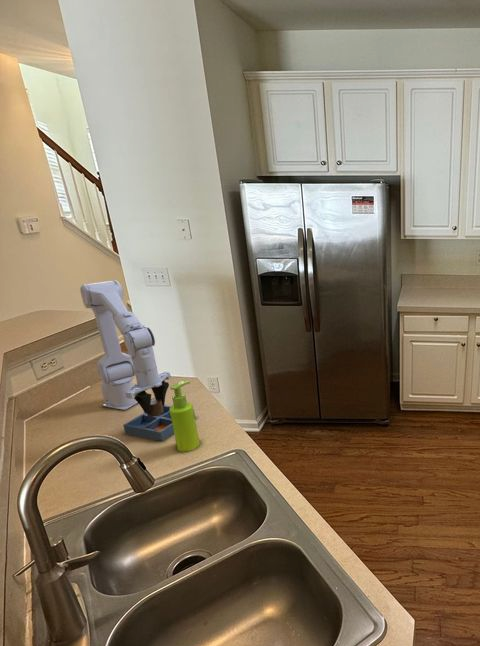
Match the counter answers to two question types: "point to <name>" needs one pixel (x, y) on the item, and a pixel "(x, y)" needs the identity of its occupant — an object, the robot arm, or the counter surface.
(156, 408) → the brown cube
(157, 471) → the counter surface
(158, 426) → the grid
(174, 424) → the soap dispenser
